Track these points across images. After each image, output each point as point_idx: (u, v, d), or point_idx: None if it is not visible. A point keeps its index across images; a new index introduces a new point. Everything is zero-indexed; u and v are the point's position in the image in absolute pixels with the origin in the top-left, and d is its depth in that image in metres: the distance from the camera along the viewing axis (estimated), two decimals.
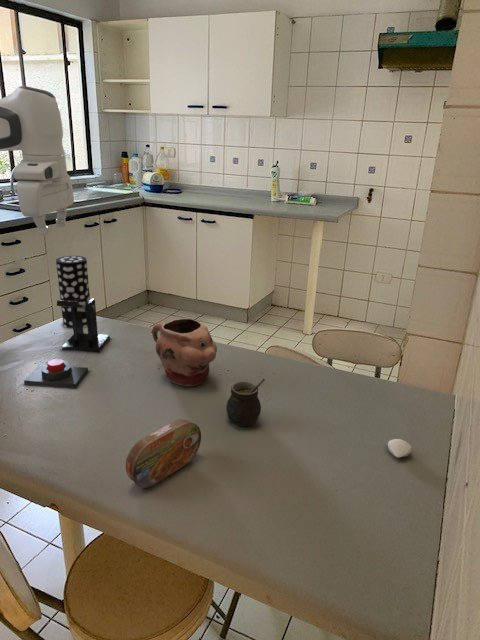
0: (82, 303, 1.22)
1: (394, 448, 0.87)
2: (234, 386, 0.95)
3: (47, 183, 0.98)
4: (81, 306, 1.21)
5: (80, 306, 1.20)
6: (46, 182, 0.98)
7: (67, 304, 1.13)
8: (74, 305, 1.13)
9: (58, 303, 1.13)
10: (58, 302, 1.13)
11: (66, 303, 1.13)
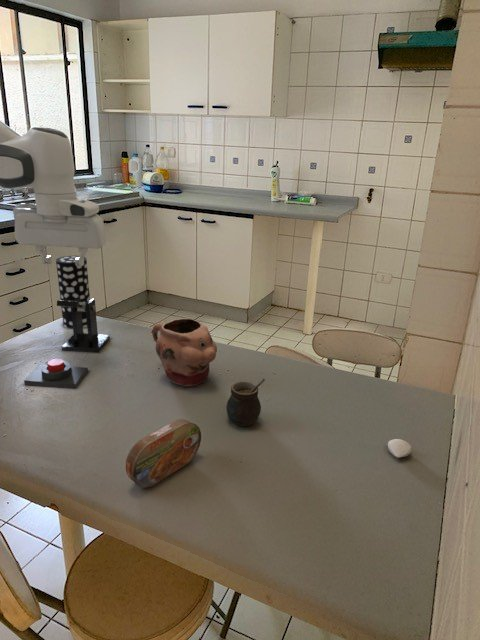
0: (82, 303, 1.22)
1: (394, 448, 0.87)
2: (234, 386, 0.95)
3: None
4: (81, 306, 1.21)
5: (80, 306, 1.20)
6: None
7: (67, 304, 1.13)
8: (74, 305, 1.13)
9: (58, 303, 1.13)
10: (58, 302, 1.13)
11: (66, 303, 1.13)
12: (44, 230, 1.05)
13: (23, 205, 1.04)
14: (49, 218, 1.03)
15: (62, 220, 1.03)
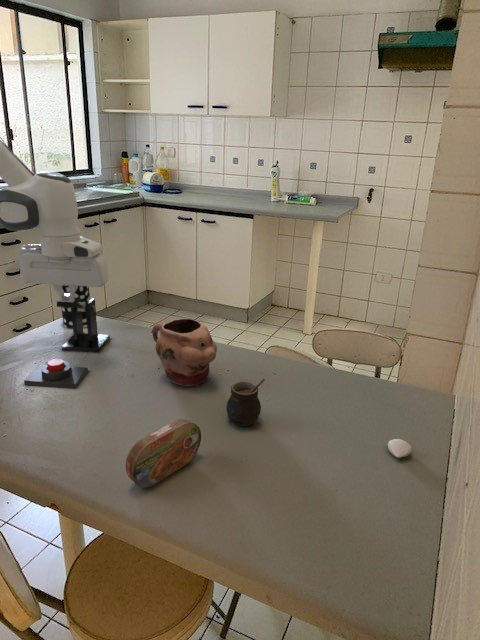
0: (82, 303, 1.22)
1: (394, 448, 0.87)
2: (234, 386, 0.95)
3: None
4: (81, 306, 1.21)
5: (80, 306, 1.20)
6: None
7: (67, 305, 1.13)
8: (74, 306, 1.13)
9: (58, 304, 1.13)
10: (58, 303, 1.13)
11: (66, 304, 1.13)
12: (49, 270, 1.08)
13: (28, 246, 1.08)
14: (53, 259, 1.06)
15: (66, 260, 1.06)
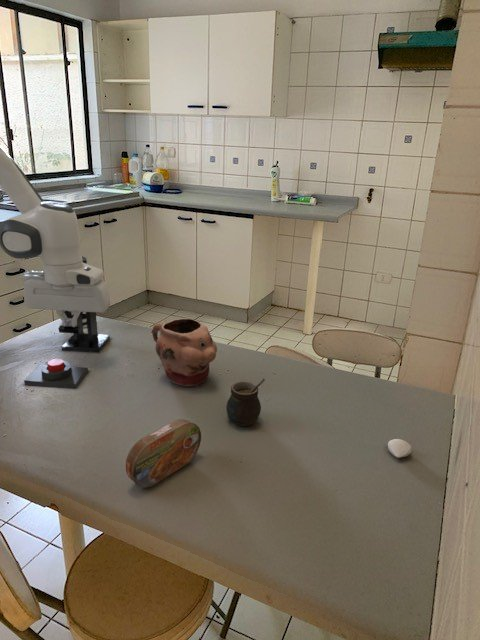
0: None
1: (394, 448, 0.87)
2: (234, 386, 0.95)
3: None
4: (81, 313, 1.21)
5: (81, 314, 1.21)
6: None
7: (69, 331, 1.15)
8: (76, 332, 1.15)
9: (60, 330, 1.15)
10: (60, 330, 1.15)
11: (68, 331, 1.15)
12: (52, 296, 1.11)
13: (32, 273, 1.10)
14: (56, 286, 1.08)
15: (69, 287, 1.09)
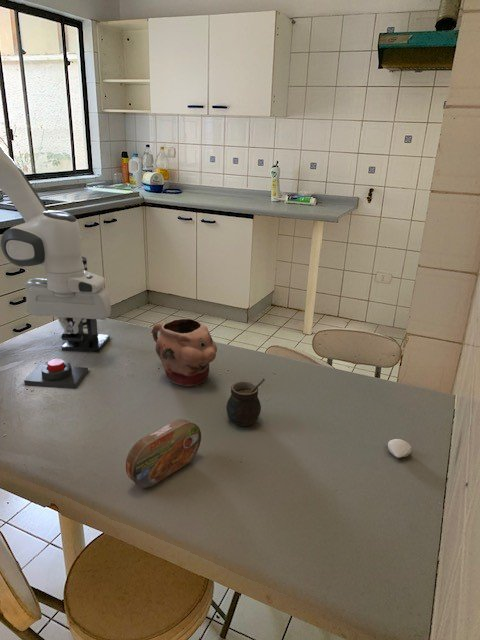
0: None
1: (394, 448, 0.87)
2: (234, 386, 0.95)
3: None
4: None
5: None
6: None
7: (72, 340, 1.17)
8: (79, 340, 1.17)
9: (63, 339, 1.17)
10: (63, 338, 1.17)
11: (71, 339, 1.17)
12: (54, 303, 1.12)
13: (34, 280, 1.12)
14: (59, 293, 1.10)
15: (71, 295, 1.10)
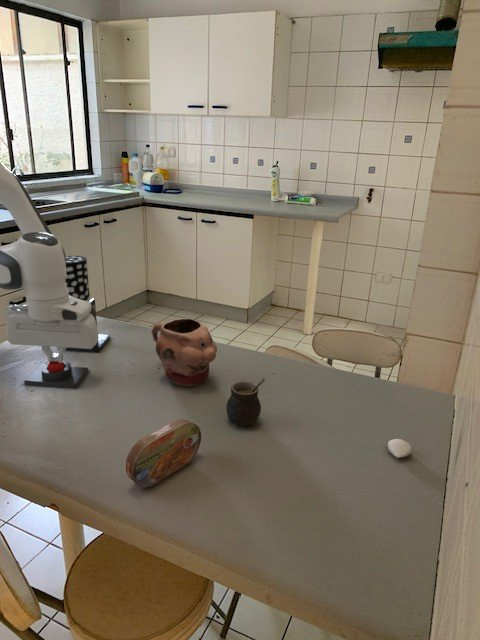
0: None
1: (394, 448, 0.87)
2: (234, 386, 0.95)
3: None
4: None
5: None
6: None
7: None
8: None
9: None
10: None
11: None
12: (36, 332, 1.04)
13: (15, 307, 1.03)
14: (41, 322, 1.01)
15: (54, 323, 1.02)
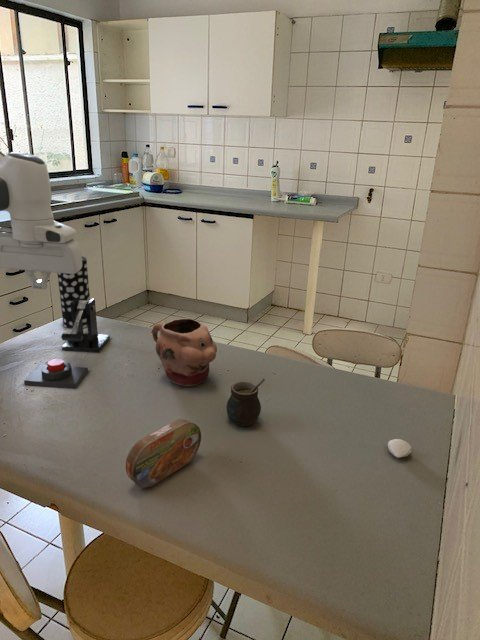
0: (81, 309, 1.22)
1: (394, 448, 0.87)
2: (234, 386, 0.95)
3: None
4: (82, 315, 1.22)
5: (81, 317, 1.21)
6: None
7: (72, 340, 1.17)
8: (79, 340, 1.17)
9: (63, 339, 1.17)
10: (63, 338, 1.17)
11: (71, 339, 1.17)
12: (20, 255, 1.05)
13: None
14: (25, 243, 1.02)
15: (38, 245, 1.03)
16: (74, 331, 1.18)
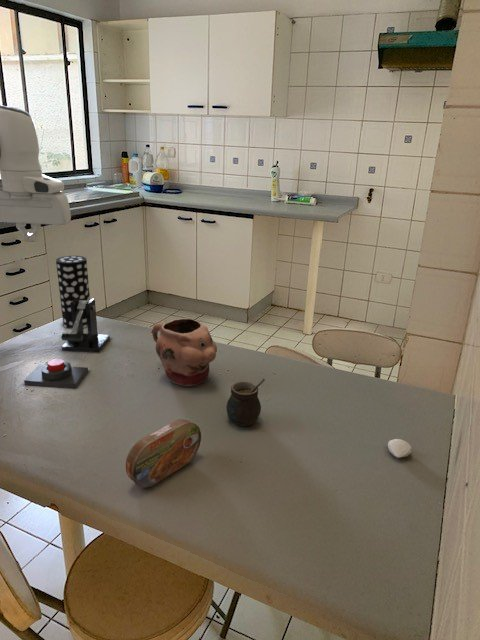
0: (81, 309, 1.22)
1: (394, 448, 0.87)
2: (234, 386, 0.95)
3: None
4: (82, 315, 1.22)
5: (81, 317, 1.21)
6: None
7: (72, 340, 1.17)
8: (79, 340, 1.17)
9: (63, 339, 1.17)
10: (63, 338, 1.17)
11: (71, 339, 1.17)
12: (11, 207, 1.09)
13: None
14: (14, 195, 1.06)
15: (27, 197, 1.07)
16: (74, 331, 1.18)
